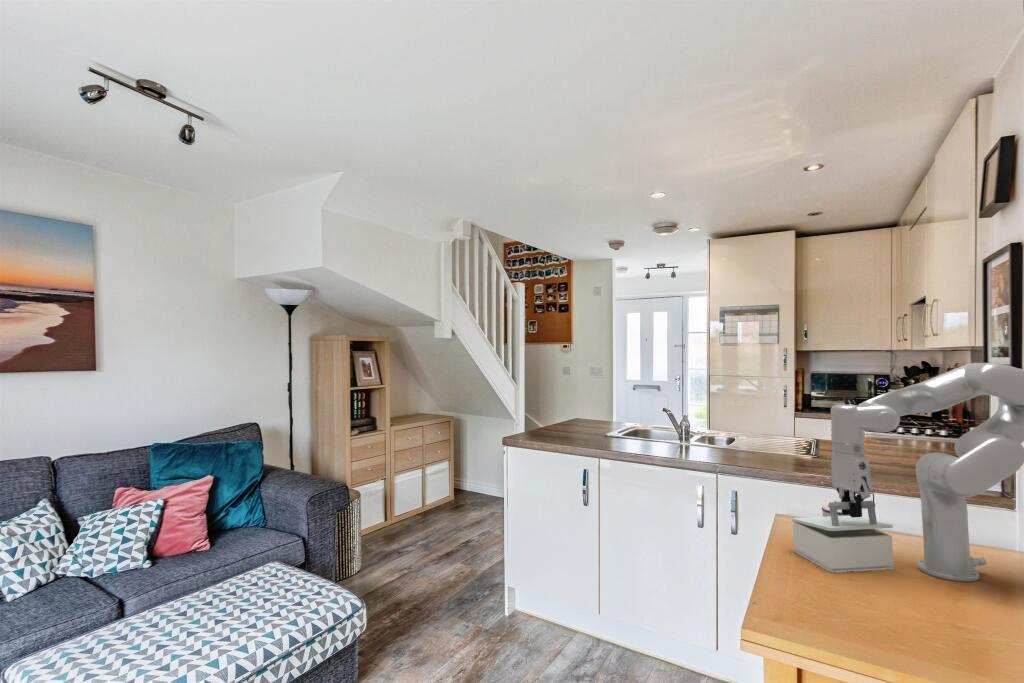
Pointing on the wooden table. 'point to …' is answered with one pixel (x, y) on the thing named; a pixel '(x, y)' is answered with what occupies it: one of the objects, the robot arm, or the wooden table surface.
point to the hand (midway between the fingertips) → (851, 514)
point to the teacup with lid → (827, 511)
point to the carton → (844, 548)
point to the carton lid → (844, 519)
